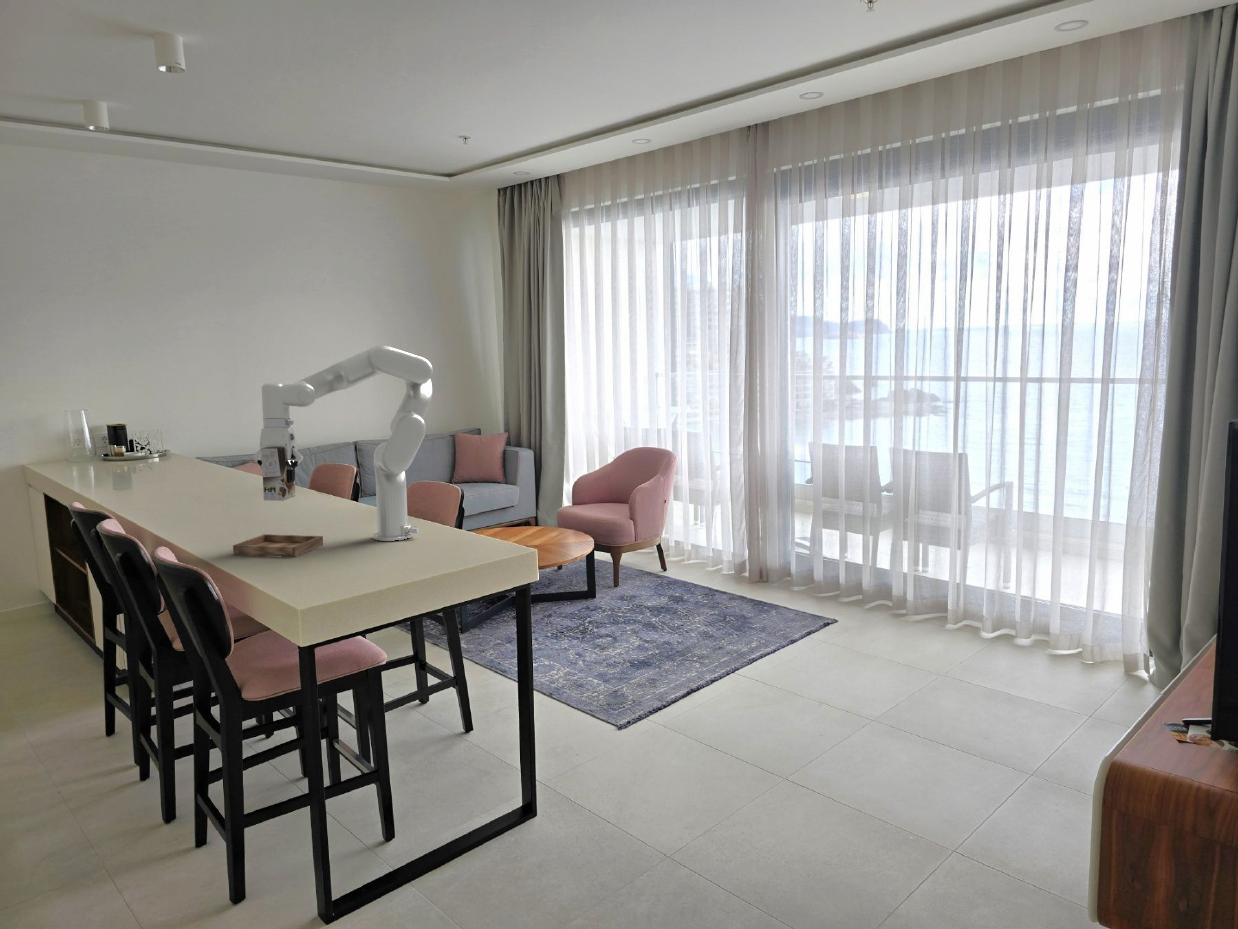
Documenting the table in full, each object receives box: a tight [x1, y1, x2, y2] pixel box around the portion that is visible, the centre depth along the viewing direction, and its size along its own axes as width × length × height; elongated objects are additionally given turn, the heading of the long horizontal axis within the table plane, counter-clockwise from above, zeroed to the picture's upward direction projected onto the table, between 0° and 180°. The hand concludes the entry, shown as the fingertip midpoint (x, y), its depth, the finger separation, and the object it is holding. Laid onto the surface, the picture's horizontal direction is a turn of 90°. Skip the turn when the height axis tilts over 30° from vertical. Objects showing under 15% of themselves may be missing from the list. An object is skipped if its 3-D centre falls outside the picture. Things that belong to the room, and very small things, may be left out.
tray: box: [232, 533, 324, 558], centre depth 250 cm, size 20×16×3 cm
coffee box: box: [261, 447, 296, 502], centre depth 249 cm, size 9×6×16 cm
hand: (279, 481), depth 249 cm, fingers closed on coffee box, 6 cm apart
